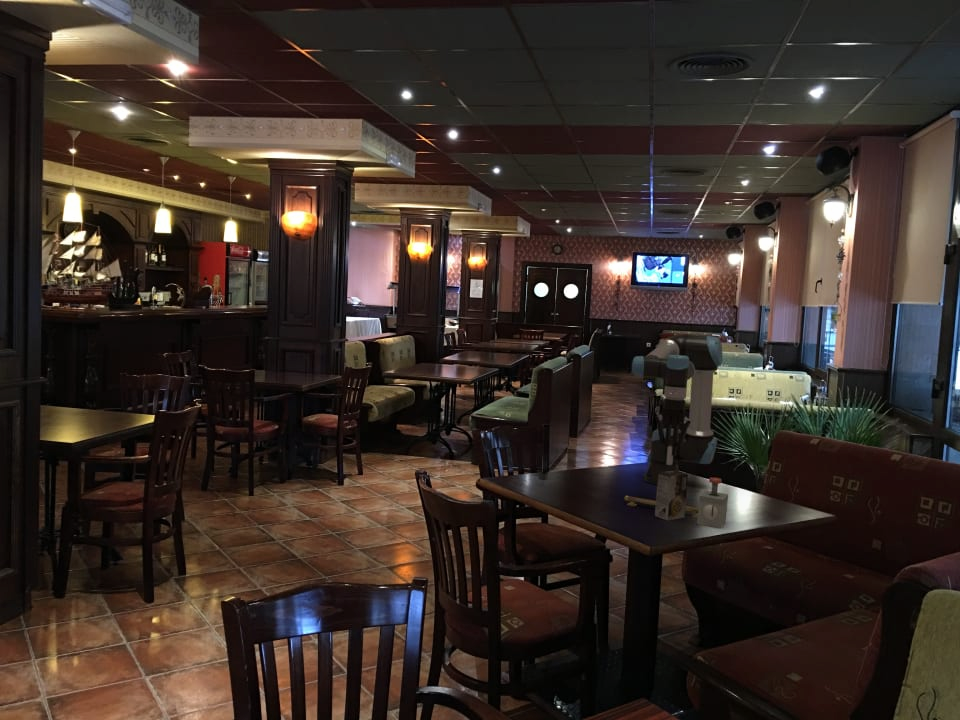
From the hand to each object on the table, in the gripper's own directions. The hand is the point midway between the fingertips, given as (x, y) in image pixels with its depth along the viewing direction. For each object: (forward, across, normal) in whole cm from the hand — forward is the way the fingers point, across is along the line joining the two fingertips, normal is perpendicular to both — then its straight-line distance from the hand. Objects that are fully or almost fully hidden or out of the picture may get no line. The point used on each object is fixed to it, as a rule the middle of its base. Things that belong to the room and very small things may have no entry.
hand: (669, 464), depth 270 cm
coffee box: (+19, +2, -1) cm, 19 cm away
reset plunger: (+8, +16, +1) cm, 18 cm away
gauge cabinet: (+19, +16, +1) cm, 25 cm away
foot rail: (+19, -2, +6) cm, 20 cm away
